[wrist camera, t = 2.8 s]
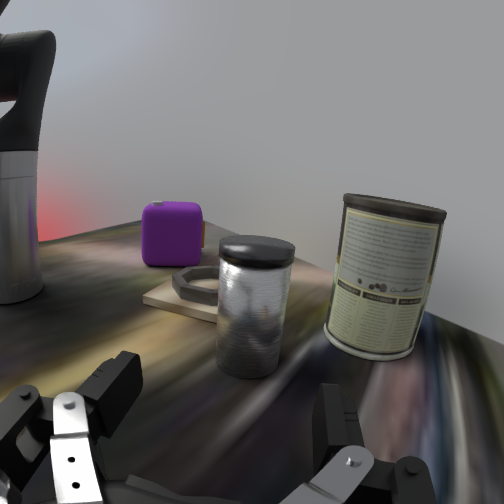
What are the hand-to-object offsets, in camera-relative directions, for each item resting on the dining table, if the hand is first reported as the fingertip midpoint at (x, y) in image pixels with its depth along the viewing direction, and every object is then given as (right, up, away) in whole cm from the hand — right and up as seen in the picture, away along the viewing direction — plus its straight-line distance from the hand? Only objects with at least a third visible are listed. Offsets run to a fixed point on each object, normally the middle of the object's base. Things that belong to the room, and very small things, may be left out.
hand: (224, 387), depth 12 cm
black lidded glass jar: (+1, -3, +12) cm, 13 cm away
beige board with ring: (-4, 0, +25) cm, 25 cm away
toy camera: (-13, +5, +39) cm, 42 cm away
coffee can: (+13, -3, +17) cm, 22 cm away
